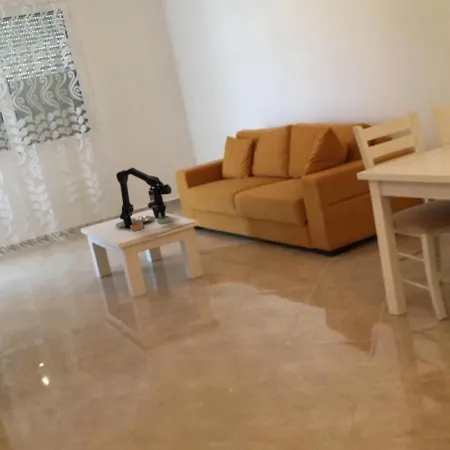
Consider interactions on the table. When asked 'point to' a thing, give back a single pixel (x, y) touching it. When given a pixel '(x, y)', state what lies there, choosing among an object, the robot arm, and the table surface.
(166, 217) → the green cup
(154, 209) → the travel mug
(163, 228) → the table surface
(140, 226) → the terracotta cup
